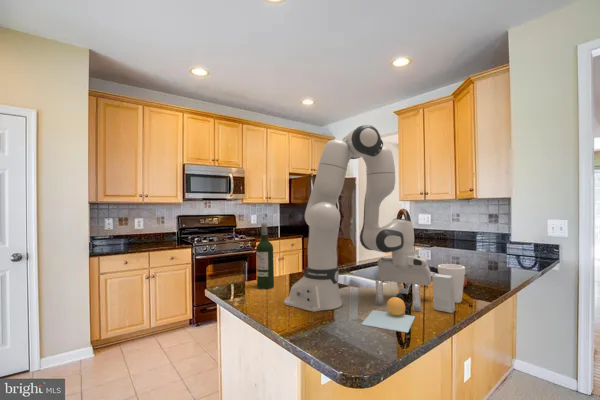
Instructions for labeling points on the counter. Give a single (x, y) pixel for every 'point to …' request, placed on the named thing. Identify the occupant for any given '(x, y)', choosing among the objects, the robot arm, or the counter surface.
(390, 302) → the ball
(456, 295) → the foam cup
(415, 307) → the right post
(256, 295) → the counter surface
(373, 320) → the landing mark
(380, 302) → the left post
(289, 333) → the counter surface
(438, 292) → the skincare box
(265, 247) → the wine bottle
